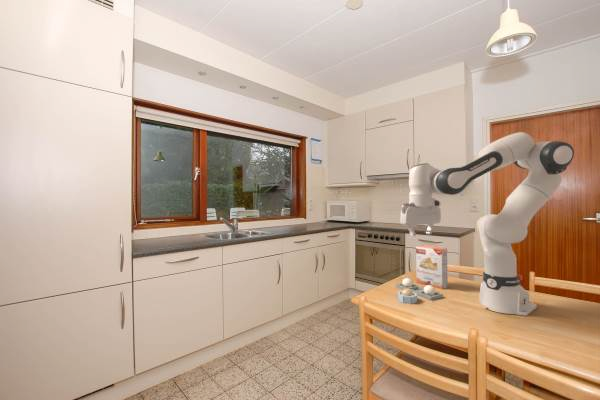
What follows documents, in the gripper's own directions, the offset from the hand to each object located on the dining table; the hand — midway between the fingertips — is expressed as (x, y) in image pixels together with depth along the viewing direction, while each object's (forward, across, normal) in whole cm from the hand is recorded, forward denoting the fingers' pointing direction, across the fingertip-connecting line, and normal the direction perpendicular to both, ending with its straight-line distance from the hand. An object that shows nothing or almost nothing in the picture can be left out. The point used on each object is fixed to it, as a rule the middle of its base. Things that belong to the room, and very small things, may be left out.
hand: (420, 235), depth 114 cm
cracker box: (+31, +28, +18) cm, 46 cm away
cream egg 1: (+30, +13, +20) cm, 38 cm away
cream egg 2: (+30, +13, +7) cm, 34 cm away
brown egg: (+30, 0, +8) cm, 31 cm away
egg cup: (+31, 0, +8) cm, 32 cm away
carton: (+31, +13, +13) cm, 36 cm away
